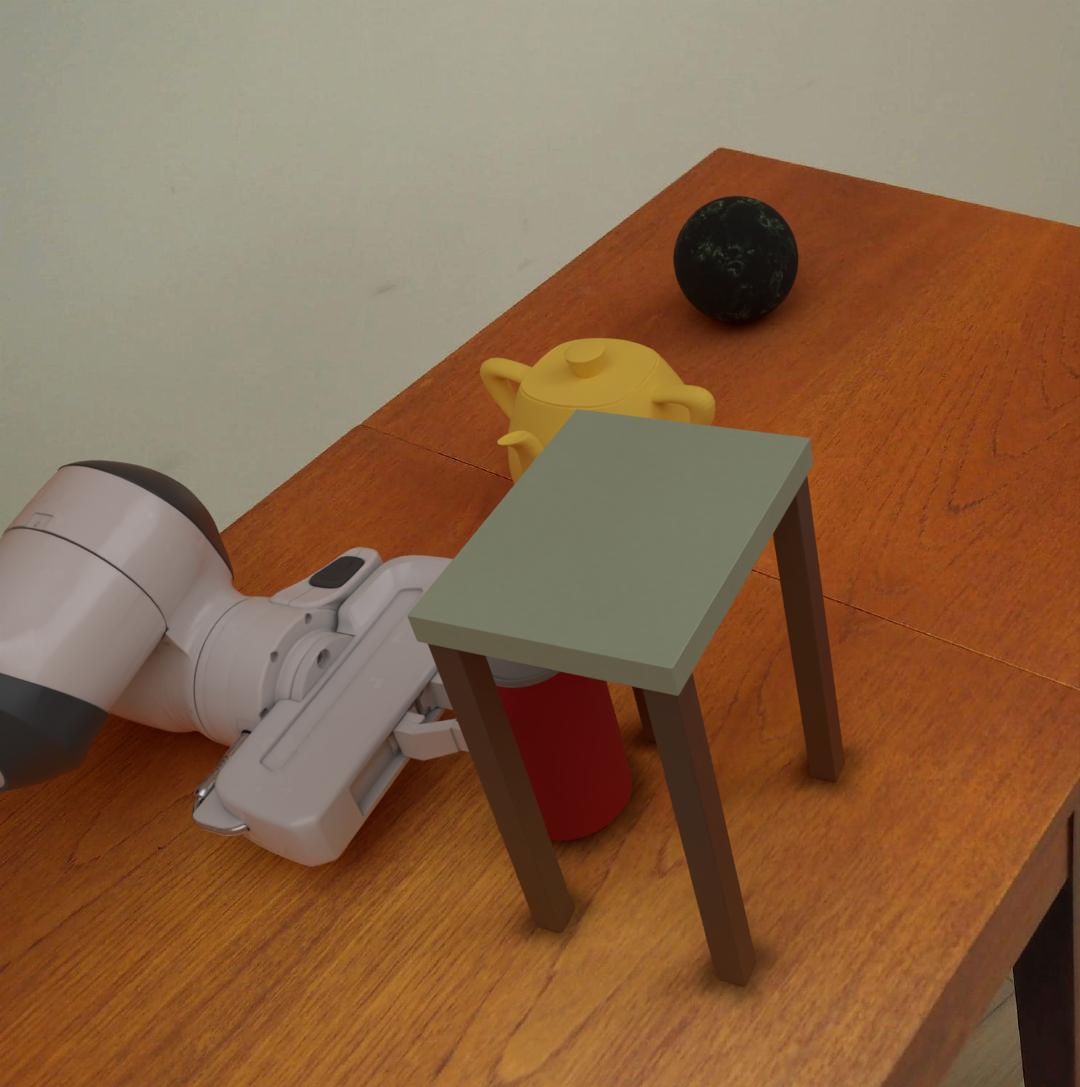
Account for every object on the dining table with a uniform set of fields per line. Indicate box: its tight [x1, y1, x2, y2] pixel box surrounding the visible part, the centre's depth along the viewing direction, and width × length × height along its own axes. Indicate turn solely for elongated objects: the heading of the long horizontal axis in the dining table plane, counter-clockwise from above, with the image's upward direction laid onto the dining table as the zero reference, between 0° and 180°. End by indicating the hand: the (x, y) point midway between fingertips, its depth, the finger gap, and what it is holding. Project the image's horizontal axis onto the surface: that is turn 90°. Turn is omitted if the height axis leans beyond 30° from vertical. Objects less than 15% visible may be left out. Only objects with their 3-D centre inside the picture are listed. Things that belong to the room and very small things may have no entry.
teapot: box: [479, 337, 716, 486], centre depth 93 cm, size 14×14×12 cm
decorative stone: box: [672, 195, 799, 325], centre depth 110 cm, size 10×10×10 cm
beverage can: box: [486, 656, 633, 842], centre depth 71 cm, size 7×7×12 cm
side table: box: [407, 409, 846, 988], centre depth 65 cm, size 15×12×22 cm
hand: (497, 725), depth 73 cm, fingers closed, pressing on beverage can
